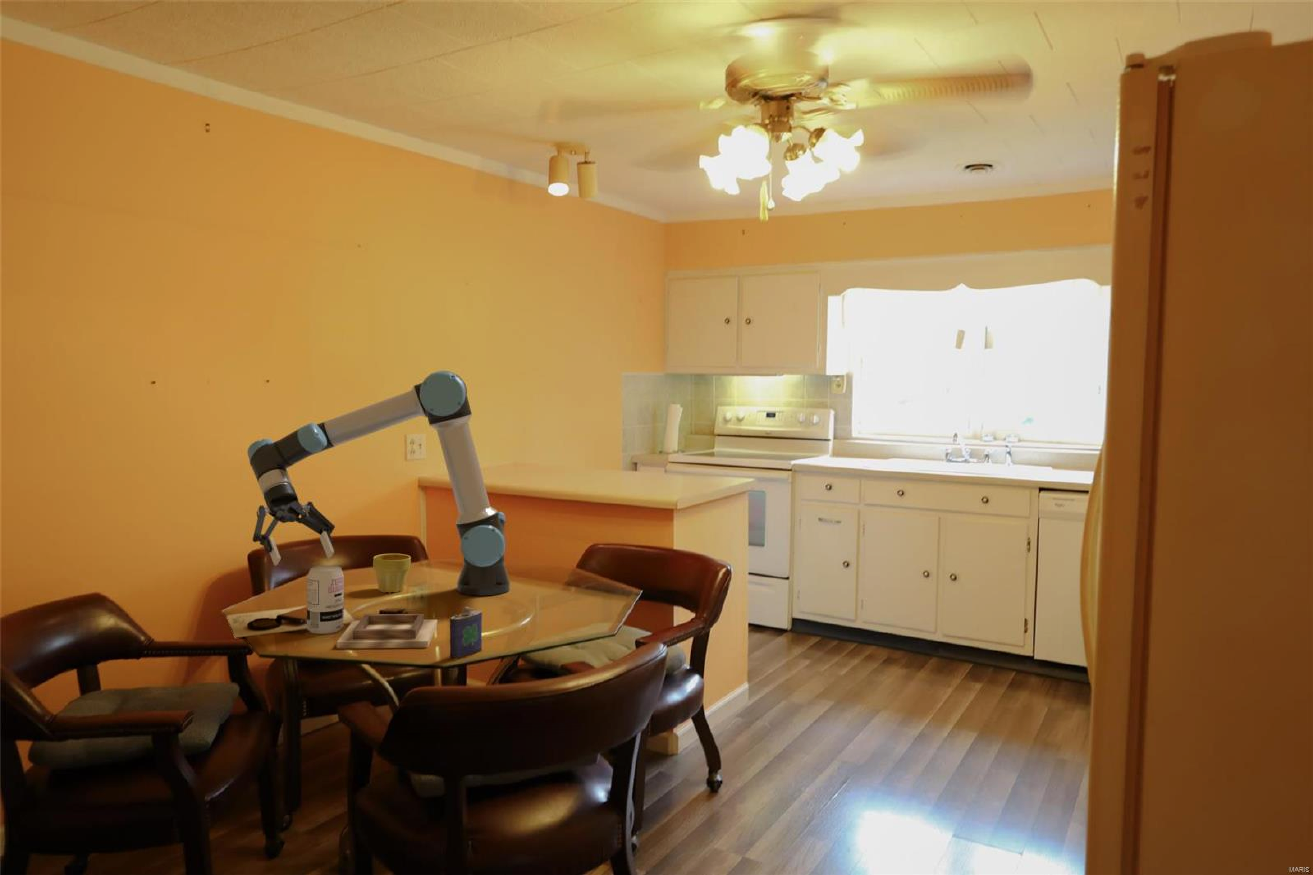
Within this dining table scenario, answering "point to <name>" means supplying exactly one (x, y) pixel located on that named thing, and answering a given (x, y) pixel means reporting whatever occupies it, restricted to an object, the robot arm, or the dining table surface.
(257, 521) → the robot arm
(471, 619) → the flask
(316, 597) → the supplement can
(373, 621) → the oak stand
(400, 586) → the plant pot
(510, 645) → the dining table surface
